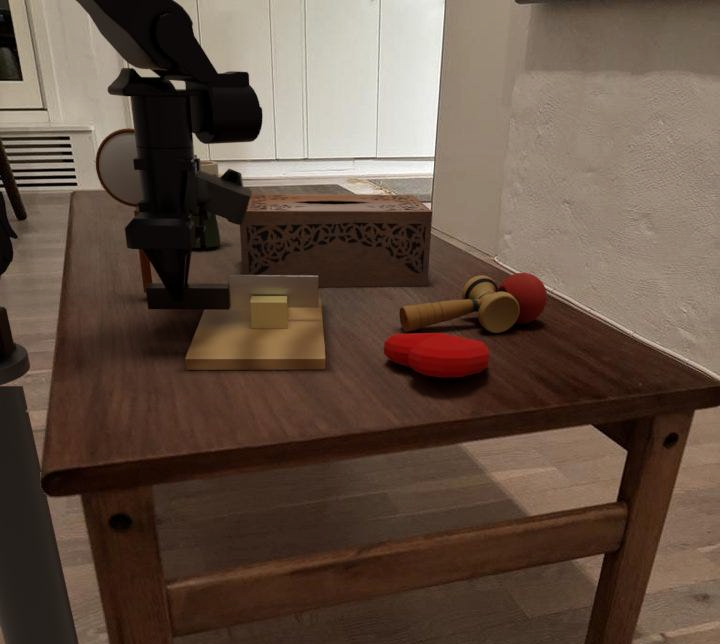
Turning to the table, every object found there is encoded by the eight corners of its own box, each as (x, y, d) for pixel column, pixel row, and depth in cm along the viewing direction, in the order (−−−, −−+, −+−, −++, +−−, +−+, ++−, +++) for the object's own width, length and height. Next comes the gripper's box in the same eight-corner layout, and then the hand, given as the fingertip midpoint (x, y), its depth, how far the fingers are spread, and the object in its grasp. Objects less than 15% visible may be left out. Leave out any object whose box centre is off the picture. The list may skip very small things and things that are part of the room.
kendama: (419, 355, 83) (562, 322, 86) (411, 298, 81) (558, 267, 84) (397, 344, 90) (530, 314, 94) (389, 292, 88) (526, 263, 91)
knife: (148, 309, 82) (144, 277, 80) (151, 304, 84) (147, 272, 82) (318, 310, 83) (318, 278, 82) (318, 304, 85) (318, 273, 84)
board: (185, 370, 74) (184, 358, 73) (209, 306, 93) (209, 297, 92) (325, 369, 75) (325, 358, 74) (320, 307, 94) (320, 297, 93)
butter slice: (251, 328, 82) (250, 302, 80) (252, 321, 84) (251, 295, 83) (287, 328, 82) (286, 302, 81) (287, 321, 84) (287, 295, 83)
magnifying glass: (184, 297, 96) (167, 128, 86) (183, 300, 95) (166, 129, 85) (115, 298, 95) (91, 127, 85) (114, 302, 94) (89, 128, 84)
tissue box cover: (243, 287, 101) (239, 211, 96) (244, 262, 113) (240, 193, 108) (427, 285, 104) (432, 211, 99) (408, 261, 117) (412, 194, 112)
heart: (458, 364, 82) (375, 365, 78) (462, 325, 80) (378, 324, 77) (518, 386, 71) (426, 388, 67) (524, 342, 70) (430, 341, 66)
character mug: (169, 253, 118) (160, 165, 111) (166, 243, 124) (158, 160, 117) (237, 250, 120) (232, 164, 114) (231, 241, 126) (226, 159, 120)
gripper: (237, 158, 68) (246, 323, 75) (250, 139, 84) (256, 277, 91) (113, 155, 67) (135, 323, 74) (150, 137, 83) (165, 276, 91)
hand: (179, 298), depth 83 cm, fingers closed on knife, 2 cm apart
